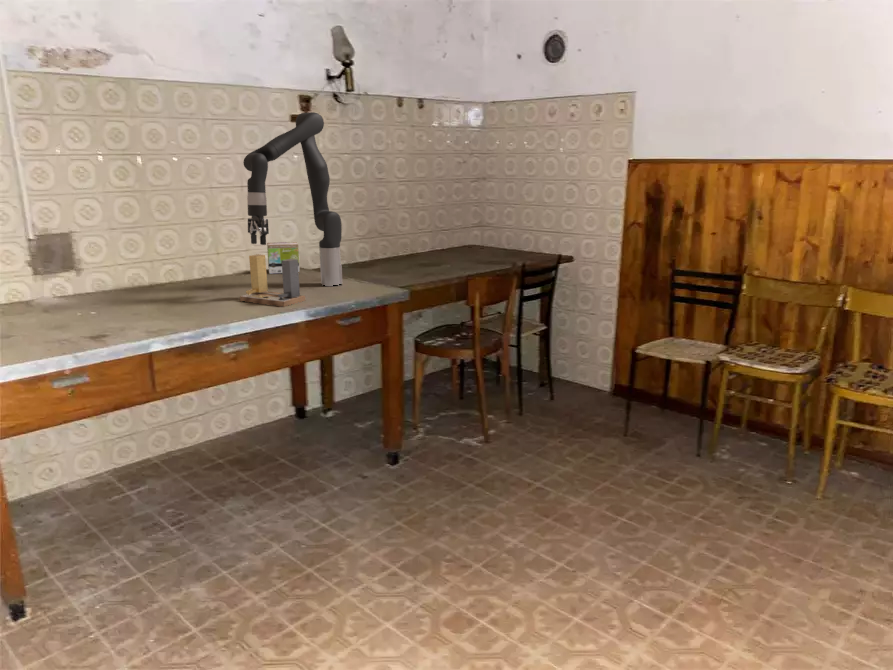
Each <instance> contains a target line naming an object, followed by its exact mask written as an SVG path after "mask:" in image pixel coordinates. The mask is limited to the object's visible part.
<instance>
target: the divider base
mask: <svg viewBox="0 0 893 670" xmlns="http://www.w3.org/2000/svg"><path fill="white" fill-rule="evenodd" d="M299 274H300V272H299V273H298V260H297V259H287V260H282V273H281V275H282V286H283V292H273V291H264V292H260V293H257V292H256V293H252V294H250V295H248V294H243V295H240V296H239V301H240V302H242V301H245V302H244V303H249V302H253V303H252V304H257V303H259V304H258V305H265V304H267V305H268V306H273V305H276V306H275V307H281V306H283V307H282V308H285V306H286V307H289V306H292V305H291V304H293V305H296V304H299V303H302V301H303V302H306V295H301V291H300V277H299ZM298 302H299V303H298ZM295 303H296V304H295ZM267 305H266V306H267ZM288 305H289V306H288Z"/></svg>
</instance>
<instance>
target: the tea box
mask: <svg viewBox="0 0 893 670" xmlns="http://www.w3.org/2000/svg"><path fill="white" fill-rule="evenodd" d="M266 248H267V265H268V274H269V275H272V274H282V260H287V259H297V260H298V272H299V273H300V255H299V254H300V253H299V251H300V250H299V243H298V241H283V242H281V241H278V242H266Z"/></svg>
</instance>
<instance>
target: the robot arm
mask: <svg viewBox="0 0 893 670" xmlns="http://www.w3.org/2000/svg"><path fill="white" fill-rule="evenodd" d="M324 127H325V122H324V118H323V116H322V115H321V114H320V113H318V112H314V111H313V112H312V111H310V112H301V113H299V114H298V115H297V116H296V119H295V127H294V128H292V129H290V130H288V131H286V132H283V133H282V134H279V135H278V136H275V137H274V138H272V139H271V140H269V141H268V142H266V143H265V144H264V145H262V146H261V147H259V148H257V149H255V150H253V151H251V152H250V153H248V154H246V156H245V157H244V159H243V163H242V164H243V166H244V169H246V170H247V171H249V172H251V176H250V177H249V178H248V179H247V181H246V182H247V185H246V186H247V195H246V196H247V197H246V198H247V199H246V200H247V203H246V204H247V216H249V218H247V233H248V234H249V235H250V243H251V245H256V244H257V243H258V239H257V233H259V243H260V246H261V245H262V246H265V245H266V246H267V235H269V230H270V229H269V219H268V218H265V217H267V215H268V209H267V207H268V206H267V205H268V204H267V194H266V193H267V192H266V180H267V176H268V175H267V174H268V169H269V162H272V161H275V160H278V159H279V157H281V156H283V155H284V154H285V153H286V152H288V151H289V150H291V149H292V148H294V147H295V146H297V145H299V144H300V145H301V149H302V153H303V159H304V164H305V168H306V170H305V171H306V175H307V181H308V184H309V189H310V194H311V199H312V200H311V201H312V207H313V219H314V224H315V227H316V228H317V229H318V230H319V231H321V232H323V237H322V239H321V240H319V242H318V243H319V244H318V246H319V247H318V248H319V265H320V267H319V269H320V284H322V285H321V286H323V285H325V286H324V287H334V286H333V285H338V286H340V285H339V284H343V267H342V263H341V262H342V261H341V259H342V258H341V242H342V234H343V233H342V229H343V227H342V218H341V216H340V214H339V213H338V212H336V211H331V210H330V208H329V203H328V192H329V187H330V183H331V182H330V181H331V180H330V174H329V169H328V168H329V167H328V164H327V161H326V160H325V157H324V156H323V155H322V153H321V152H320V149H319V147H318V146H317V141H316V137H315V136H316V135H318V134H320V133H321V132H322V131H323V129H324Z"/></svg>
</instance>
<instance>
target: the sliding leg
mask: <svg viewBox="0 0 893 670" xmlns="http://www.w3.org/2000/svg"><path fill="white" fill-rule="evenodd" d="M248 259H249V271H250V272H249V273H250V284H251V288H250V289H247V290H245V293H246V294H248V295H250V294H252V293H256V292H257V293H260V292H264V291H268V289H269V288H268V278H267V276H268V275H267V263H266V262H267V261H266V254H259V253H258V254H257V253H256V254H251V255H249V256H248ZM268 292H269V291H268ZM246 294H245V295H246Z"/></svg>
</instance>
